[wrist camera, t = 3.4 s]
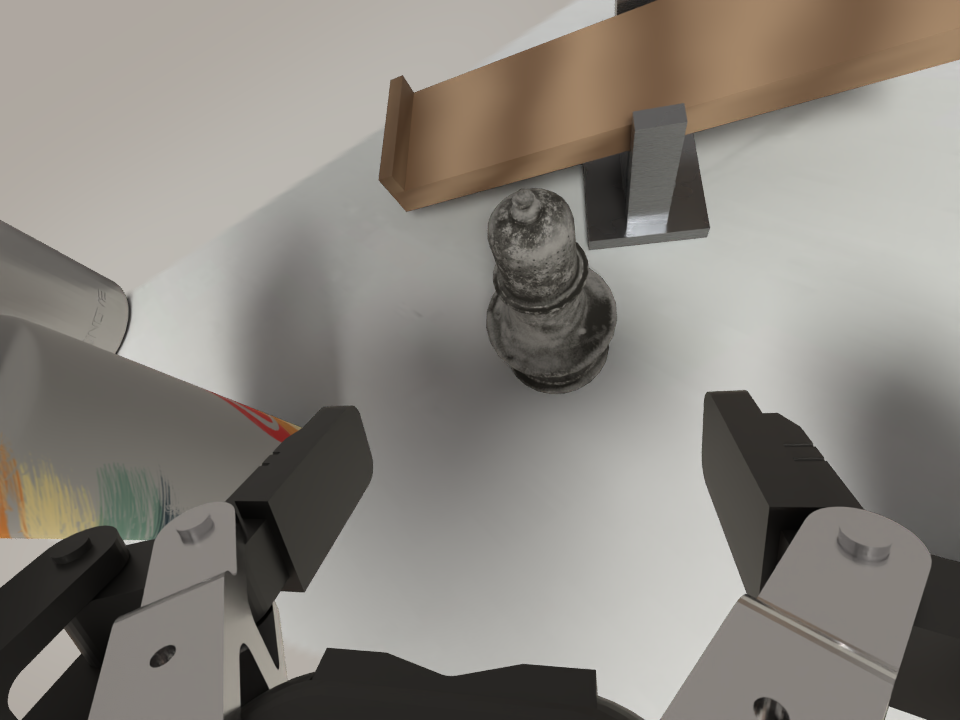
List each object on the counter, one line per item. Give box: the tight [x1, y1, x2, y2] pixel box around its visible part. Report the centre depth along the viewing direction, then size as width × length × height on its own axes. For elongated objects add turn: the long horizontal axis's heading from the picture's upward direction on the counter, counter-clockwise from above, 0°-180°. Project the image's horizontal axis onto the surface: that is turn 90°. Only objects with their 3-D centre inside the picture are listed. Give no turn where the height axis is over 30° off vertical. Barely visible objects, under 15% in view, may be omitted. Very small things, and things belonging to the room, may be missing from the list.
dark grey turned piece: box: [486, 188, 617, 394], centre depth 20 cm, size 6×6×12 cm
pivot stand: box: [583, 0, 710, 250], centre depth 24 cm, size 6×11×7 cm, turn 179°
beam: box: [379, 0, 960, 212], centre depth 22 cm, size 26×7×3 cm, turn 89°
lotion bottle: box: [0, 314, 301, 540], centre depth 16 cm, size 6×6×20 cm
